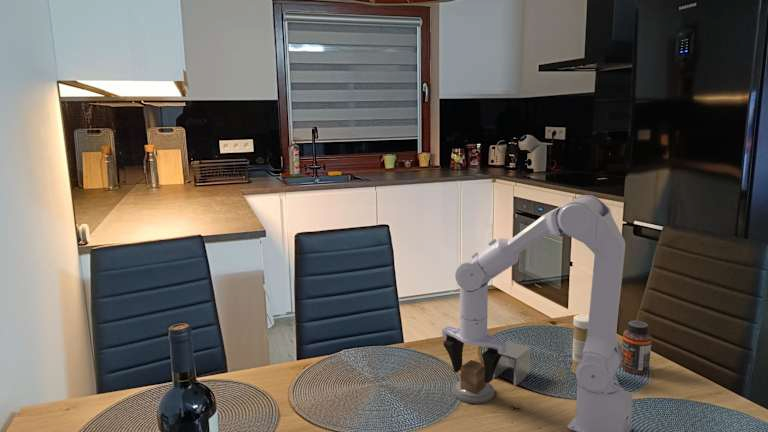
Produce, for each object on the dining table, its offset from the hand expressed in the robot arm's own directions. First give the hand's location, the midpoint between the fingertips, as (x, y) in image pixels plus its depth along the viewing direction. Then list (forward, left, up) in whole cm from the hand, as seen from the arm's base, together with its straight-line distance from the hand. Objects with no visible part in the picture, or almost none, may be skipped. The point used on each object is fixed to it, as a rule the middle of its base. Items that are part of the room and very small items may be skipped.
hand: (473, 375), depth 115 cm
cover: (-3, -12, -4) cm, 13 cm away
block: (0, 0, -3) cm, 3 cm away
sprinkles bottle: (-15, -23, -4) cm, 28 cm away
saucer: (0, 0, -4) cm, 4 cm away
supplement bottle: (-24, -32, -4) cm, 40 cm away
